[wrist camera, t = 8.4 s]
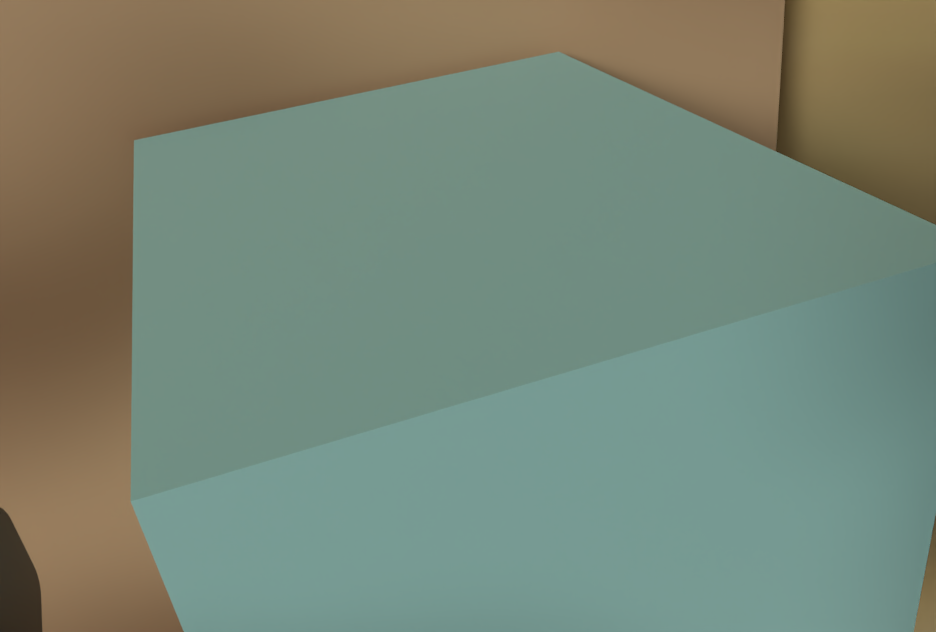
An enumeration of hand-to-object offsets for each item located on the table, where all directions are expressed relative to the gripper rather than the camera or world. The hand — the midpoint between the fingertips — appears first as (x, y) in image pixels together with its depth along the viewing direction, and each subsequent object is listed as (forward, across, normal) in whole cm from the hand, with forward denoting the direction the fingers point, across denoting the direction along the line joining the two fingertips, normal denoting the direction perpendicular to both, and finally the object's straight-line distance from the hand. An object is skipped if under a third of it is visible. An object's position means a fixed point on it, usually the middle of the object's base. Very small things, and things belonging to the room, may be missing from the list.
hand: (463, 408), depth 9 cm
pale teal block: (+3, 0, 0) cm, 3 cm away
